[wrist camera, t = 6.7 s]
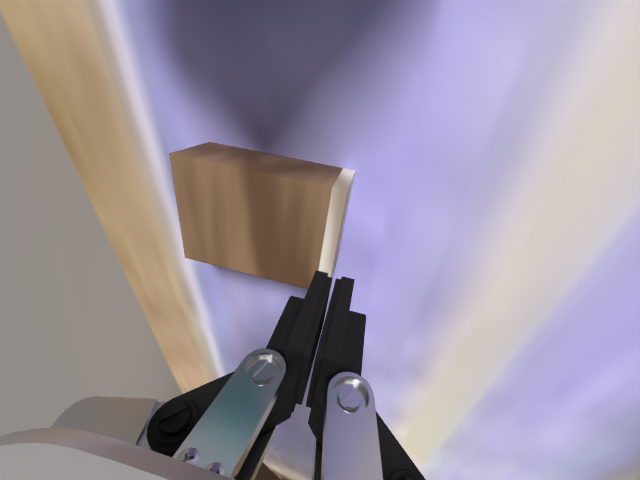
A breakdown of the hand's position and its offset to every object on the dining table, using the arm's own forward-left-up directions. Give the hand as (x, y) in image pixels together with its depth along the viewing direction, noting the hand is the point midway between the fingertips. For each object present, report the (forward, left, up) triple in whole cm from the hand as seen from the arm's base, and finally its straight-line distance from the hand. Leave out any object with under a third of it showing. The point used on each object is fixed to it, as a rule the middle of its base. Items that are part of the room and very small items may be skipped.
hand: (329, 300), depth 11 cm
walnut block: (0, 0, -6) cm, 6 cm away
